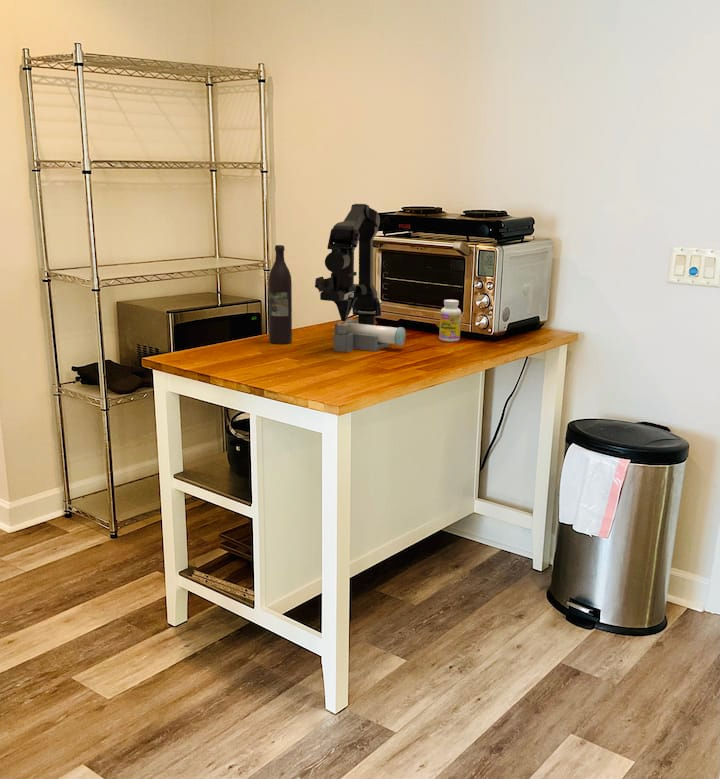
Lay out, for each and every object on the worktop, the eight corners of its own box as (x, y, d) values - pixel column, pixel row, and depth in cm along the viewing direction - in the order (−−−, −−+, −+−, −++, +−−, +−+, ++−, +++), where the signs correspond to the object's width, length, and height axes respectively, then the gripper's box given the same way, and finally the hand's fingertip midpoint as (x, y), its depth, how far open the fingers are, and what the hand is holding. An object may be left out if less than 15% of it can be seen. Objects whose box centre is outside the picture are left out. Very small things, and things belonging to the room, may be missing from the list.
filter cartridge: (354, 338, 254) (354, 320, 253) (405, 344, 247) (405, 326, 245) (345, 341, 249) (346, 323, 248) (397, 347, 242) (398, 328, 240)
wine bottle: (264, 342, 254) (263, 245, 246) (280, 339, 259) (279, 244, 251) (280, 345, 249) (279, 246, 242) (296, 342, 255) (296, 245, 247)
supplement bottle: (436, 340, 260) (438, 301, 256) (442, 337, 266) (444, 298, 262) (456, 342, 257) (458, 302, 254) (462, 339, 263) (464, 299, 260)
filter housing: (349, 340, 258) (349, 319, 256) (389, 345, 252) (389, 323, 250) (325, 349, 244) (325, 326, 242) (366, 354, 238) (367, 331, 236)
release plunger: (341, 342, 246) (341, 320, 244) (351, 343, 244) (351, 322, 243) (335, 344, 243) (335, 322, 241) (345, 345, 241) (346, 323, 240)
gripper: (335, 264, 249) (335, 314, 253) (304, 269, 233) (304, 323, 237) (367, 266, 244) (366, 317, 248) (338, 272, 228) (337, 327, 232)
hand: (343, 321), depth 242 cm, fingers closed
